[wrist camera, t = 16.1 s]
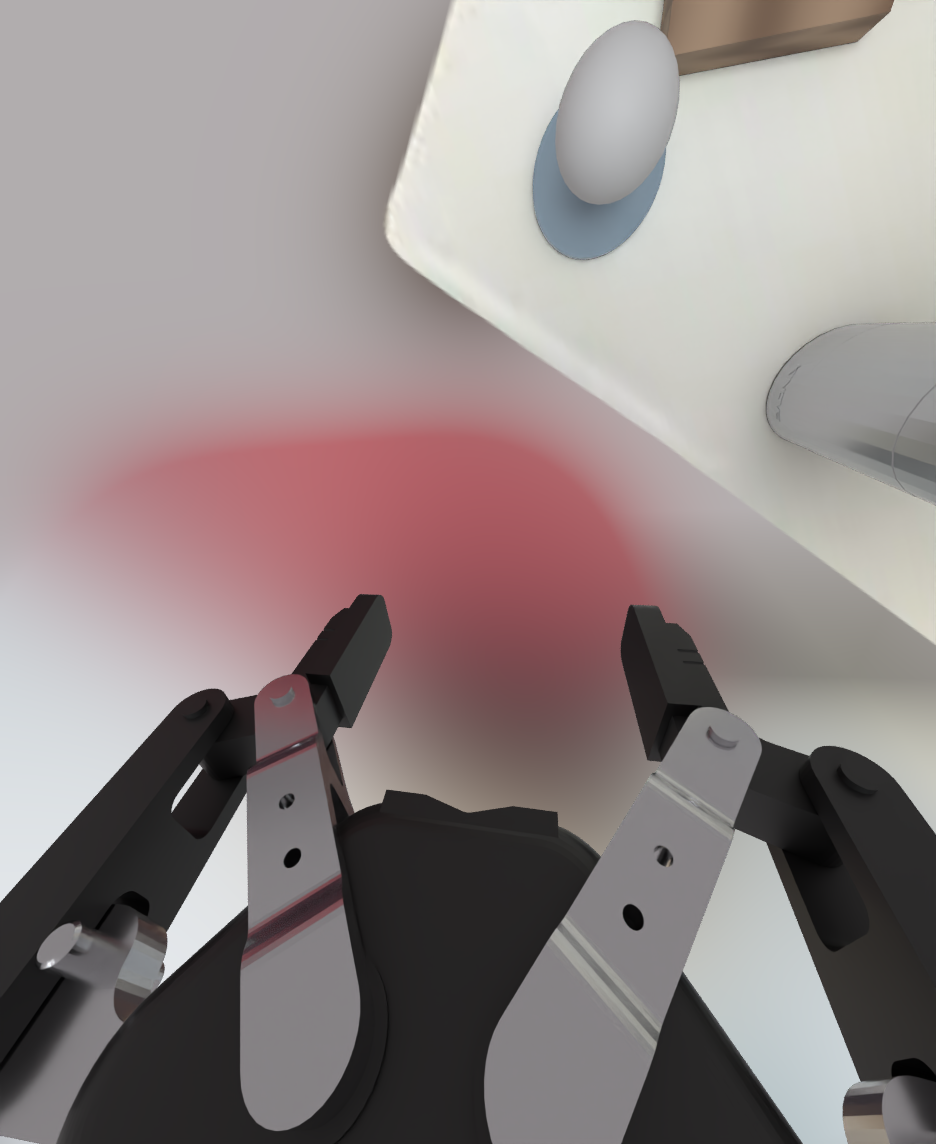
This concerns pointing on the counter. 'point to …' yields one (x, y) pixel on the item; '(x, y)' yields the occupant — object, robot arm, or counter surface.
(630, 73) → the lightbulb
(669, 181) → the counter surface
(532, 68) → the counter surface
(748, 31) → the frame
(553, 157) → the pad
